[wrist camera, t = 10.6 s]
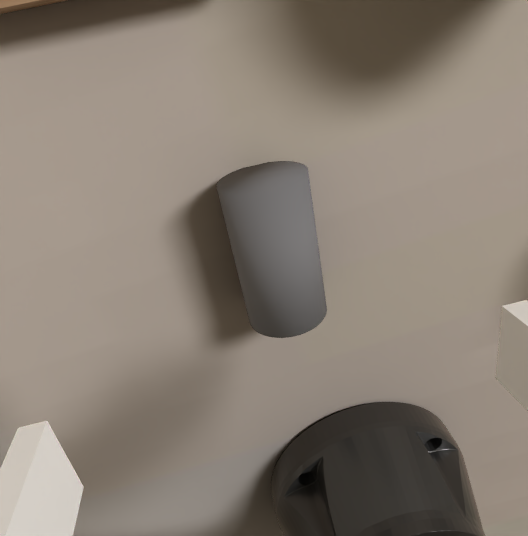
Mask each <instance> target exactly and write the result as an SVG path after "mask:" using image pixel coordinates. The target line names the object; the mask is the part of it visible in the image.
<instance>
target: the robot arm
mask: <svg viewBox="0 0 528 536" xmlns="http://www.w3.org/2000/svg"><path fill="white" fill-rule="evenodd" d="M495 378H496V379H497V380H498V381H499V382H500V383H501V384H502V385H503V386H504V387H505V388H506V389H507V391H508V392H509V393H510V394H511V395H512V396H513V397H514V398H515V399H516V400H517V401H518V402H519V403H520V404H521V405H522V406H523V407H524V408H525V409H526V410H527V411H528V301H527V300H524V301H520V302H516V303H512V304H508V305H504V306H502V312H501V323H500V333H499V344H498V355H497V366H496V376H495ZM83 488H84V487H83V485H82V483H81V481H80V479H79V478H78V476H77V474H76V472H75V470H74V468H73V467H72V465H71V463H70V461H69V459H68V458H67V456H66V454H65V452H64V450H63V449H62V447H61V445H60V443H59V441H58V439H57V438H56V436H55V434H54V432H53V430H52V429H51V427H50V425H49V423H48V421H43V422H39V423H35V424H31V425H27V426H23V427H19V428H18V429H17V432H16V434H15V436H14V438H13V441H12V443H11V445H10V448H9V450H8V452H7V455H6V457H5V459H4V462H3V464H2V466H1V468H0V536H73V533H74V528H75V524H76V519H77V515H78V510H79V506H80V501H81V497H82V492H83ZM271 492H272V497H273V502H274V508H275V513H276V517H277V520H278V523H279V526H280V528H281V530H282V532H283V533H284V535H285V536H485V534H484V532H483V528H482V525H481V521H480V517H479V513H478V510H477V506H476V502H475V499H474V495H473V491H472V488H471V484H470V480H469V477H468V473H467V469H466V465H465V462H464V458H463V455H462V453H461V451H460V449H459V447H458V445H457V443H456V442H455V440H454V439H453V437H452V436H451V434H450V433H449V431H448V430H447V428H446V427H445V425H444V424H443V422H442V421H441V420H440V419H439V418H438V417H437V416H435V415H434V414H433V413H431V412H429V411H428V410H425V409H423V408H421V407H418V406H415V405H411V404H406V403H398V402H380V403H371V404H365V405H360V406H356V407H353V408H349V409H346V410H343V411H340V412H338V413H335V414H333V415H331V416H329V417H327V418H325V419H323V420H321V421H319V422H318V423H316V424H314V425H313V426H311V427H310V428H308V429H307V430H306V431H304V432H303V433H302V434H300V435H299V436H298V437H297V438H296V439H295V440H294V441H293V442H292V443H291V444H290V445H289V446H288V447H287V448H286V450H285V451H284V452H283V454H282V455H281V457H280V458H279V460H278V462H277V464H276V466H275V468H274V471H273V474H272V479H271Z"/></svg>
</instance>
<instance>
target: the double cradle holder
mask: <svg viewBox="0 0 528 536" xmlns="http://www.w3.org/2000/svg"><path fill="white" fill-rule="evenodd" d="M62 1H67V0H0V14H3V13H8V12H13V11H18V10H23V9H28V8H33V7H38V6H43V5H47V4H52V3H57V2H62Z"/></svg>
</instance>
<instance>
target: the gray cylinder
mask: <svg viewBox="0 0 528 536" xmlns="http://www.w3.org/2000/svg"><path fill="white" fill-rule="evenodd" d="M216 187H217V191H218V195H219V199H220V203H221V207H222V211H223V215H224V219H225V223H226V228H227V232H228V236H229V240H230V244H231V248H232V252H233V256H234V260H235V264H236V268H237V272H238V276H239V280H240V284H241V288H242V293H243V297H244V301H245V305H246V309H247V313H248V317H249V321H250V324H251V326H252V327H253V329H254V330H256V331H257V332H258V333H260V334H263V335H265V336H269V337H276V338H285V337H293V336H297V335H301V334H303V333H306V332H308V331H310V330H312V329H313V328H315V327H316V326H318V325H319V324H320V323H321V322H322V320H323V319H324V317H325V315H326V311H327V307H326V300H325V292H324V285H323V277H322V270H321V263H320V255H319V248H318V240H317V233H316V226H315V218H314V211H313V203H312V196H311V189H310V181H309V174H308V168H307V167H306V166H305V165H303V164H301V163H297V162H290V161H277V162H268V163H263V164H259V165H255V166H250V167H246V168H242V169H239V170H236V171H234V172H232V173H230V174H228V175H226V176H225V177H223V178H222V179H221V180H219V182H218V183H217V186H216Z"/></svg>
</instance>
